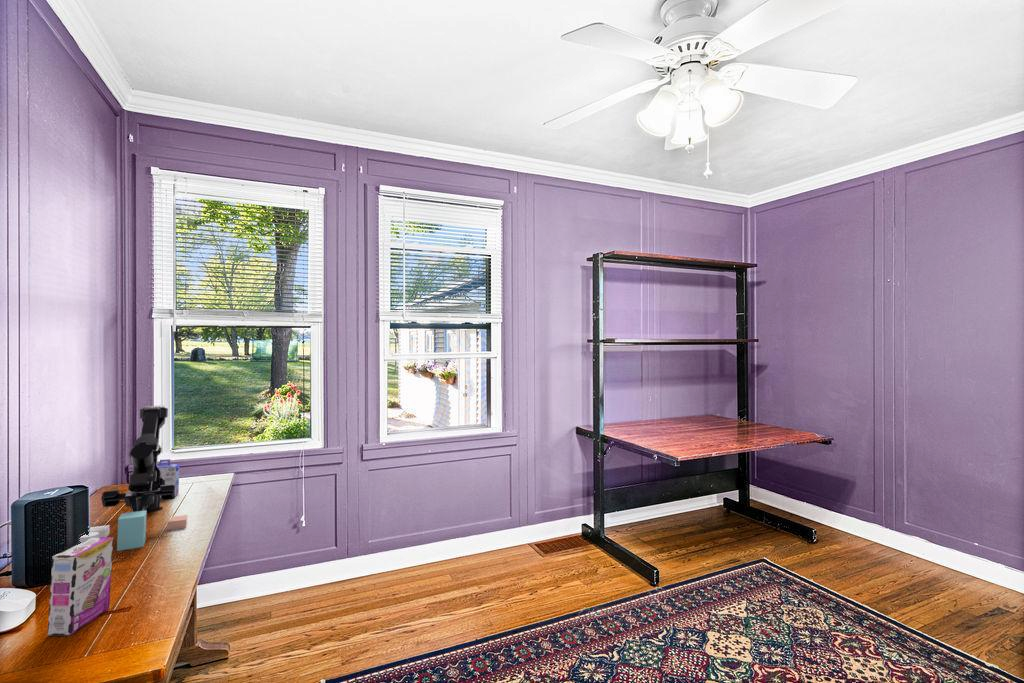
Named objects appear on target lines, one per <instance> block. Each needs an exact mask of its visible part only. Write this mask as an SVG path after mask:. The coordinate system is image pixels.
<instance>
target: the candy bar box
mask: <svg viewBox="0 0 1024 683" xmlns="http://www.w3.org/2000/svg"><path fill="white" fill-rule="evenodd" d="M79 543H80V542H79ZM77 544H78V543H77ZM77 544H76V545H74V546H71V547H70V548H67V549H65V550H63V551H61V552H59V553H57V554H55V555H53V556H51V558H52V560H51V573H50V574H51V575H50V591H49V601H48V602H49V604H48V605H49V606H48V620H47V621H48V624H47V636H48V637H49V636H51V637H52V636H53V637H54V636H58V637H59V636H63V637H64V636H66V637H67V636H71V635H73V634H75V633H76V632H78V631H79V630H80V629H81V628H84V627H85V626H86V625H87V624H89V623H90V622H92V621H93V620H94V619H96V618H98V617H99V616H100V615H102V614H104V613H105V612H106V611H108V610H109V609H110V600H111V583H112V582H111V581H112V565H113V548H114V546H113V545H114V537H111V536H110V537H109V536H107V537H99V538H90V539H88V540H86V541H84V542H82V543H80V544H78V545H77Z"/></svg>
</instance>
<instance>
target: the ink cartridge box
mask: <svg viewBox="0 0 1024 683" xmlns="http://www.w3.org/2000/svg"><path fill="white" fill-rule="evenodd" d="M157 467H158V468H159V470H160V472H161V477H163V479H164V480H165V485H169V484H174V485H175V497H176V496H178V495H179V493H180V492H179V490H180V463H177V464H171V458H169V459H168V458H167V459H159V463H158V464H157ZM159 489H160V488H159ZM160 499H161V496H160Z"/></svg>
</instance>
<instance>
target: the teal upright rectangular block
mask: <svg viewBox="0 0 1024 683" xmlns="http://www.w3.org/2000/svg"><path fill="white" fill-rule="evenodd" d="M147 516H148V513H147V510H145V511H137V512H132V511H131V512H121V514H120V515H119V517H118V519H117V541H116V551H117V552H121V551H125V550H133V549H139V548H144V546H145V542H146V538H147Z"/></svg>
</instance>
